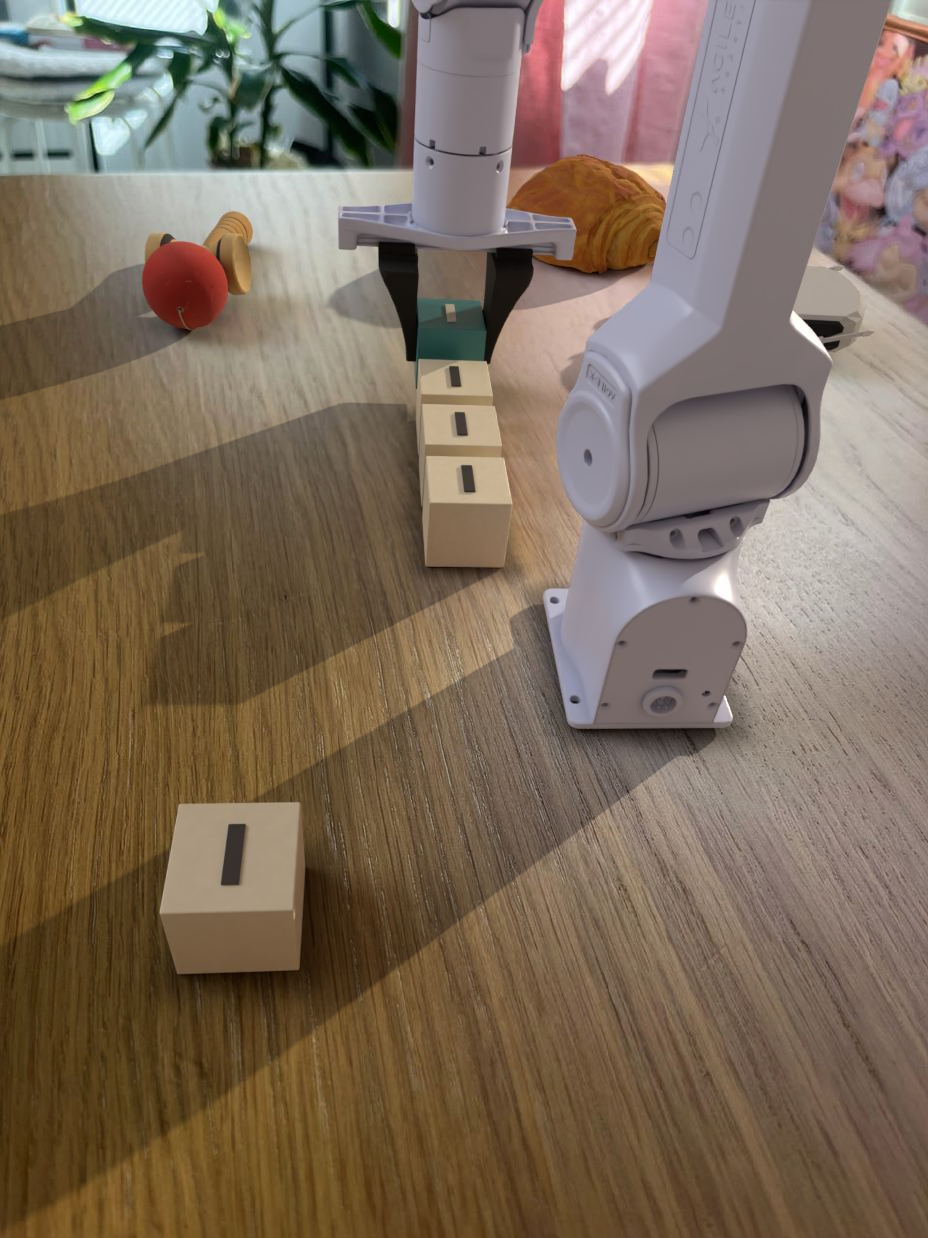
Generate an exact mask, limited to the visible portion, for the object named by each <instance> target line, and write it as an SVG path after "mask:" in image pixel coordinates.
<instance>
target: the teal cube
mask: <svg viewBox="0 0 928 1238" xmlns="http://www.w3.org/2000/svg"><path fill="white" fill-rule="evenodd" d="M416 330H417V351H416V362H413V367H414V368H413V370H414V371H413V372H414V373H413V374H414V385H415V387H414V388H415V389H416V390H417V382H418V361H419V359H434V360H463V361H484V352H485V342H486V326H485V320H484V315H483V305H482V301H481V300H474V299H473V300H472V299H453V298H452V299H451V298H450V299H449V298H428V297H427V298H426V297H417V312H416Z"/></svg>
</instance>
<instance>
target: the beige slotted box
mask: <svg viewBox="0 0 928 1238" xmlns="http://www.w3.org/2000/svg"><path fill="white" fill-rule="evenodd" d="M303 828H304V827H303V816H302V804H301V801H300V802H299V801H288V802H286V801H284V802H283V801H282V802H280V801H279V802H278V801H277V802H219V803H217V802H215V803H214V802H212V803H179V804H178V807H177V814H176V819H175V826H174V829H173V835H172V840H171V846H170V851H169V852H170V853H169V857H168V864H167V867H166V874H165V879H164V886H163V892H162V897H161V902H160V906H159V907H160V908H159V916H160V919H161V923H162V926H163V930H164V933H165V937H166V941H167V944H168V947H169V951H170V954H171V957H172V960H173V965H174V967H175V970H176V974H177V975H191V974H192V975H193V974H194V975H195V974H221V973H222V974H224V973H226V974H227V973H253V972H254V973H255V972H256V973H257V972H283V971H284V972H286V971H287V972H288V971H299V970H300V964H301V947H302V931H303V930H302V929H303V914H304V913H303V912H304V897H305V881H306V880H305V877H306V856H305V855H306V854H305V841H304V830H303Z"/></svg>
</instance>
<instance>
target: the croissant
mask: <svg viewBox="0 0 928 1238" xmlns="http://www.w3.org/2000/svg"><path fill="white" fill-rule="evenodd" d="M666 203H667V200H666V199H665V196H663V194H662V193H661V192H660V191H658V190H657V189H656V188H654V187H653V186H652V185H651V184H649V182H647V181H646V180H645V178H643V176H641V175H640V174H638V173H637V172H636V171H633V170H631V169H629V168H628V167H626V166H623V165H619V164H615V163H612V162H610V161H608V160H603V159H600V158H598V157H595V156H592V155H588V154H586V153H583V154H582V153H581V154H576V155H575V156H574V155H568V156H565V157H563V158H561V159H559V160H557V161H555V162H554V163H552V164H551V165H550V166H545V168H543V169H541V170H539V171H537V172H535V173H533V175H532V176H531V177H530V178H529V179H527V180H526V182H524V183H523V184H522V185H521V186H520V188H518V190H517V191H516V193H515V194H514V196H513V197H512V198H511V199H510V202H509V203H508V204H507V205H506V208H508V209H513V210H518V211H524V212H529V213H535V214H540V215H546V216H554V217H564V218H572V220H573V223H574V225H575V228H576V230H577V231H576V237H575V244H574V250H573V256H572V260H557V259H555V258H554V255H537V254H533V257H534V258H536V259H538V260H539V261H541V262H543V263H546V264H549V265H554V266H559V267H567V268H573V269H575V270H579V271H581V272H582V273H588V274H591V273H593V272H598V274H601V275H602V274H603V273H606V271H607V270H608V269H610V270H616V271H618V270H619V271H620V270H621V271H622V270H624V269H631V268H632V267H639V266H644V265H646V264H648V263H652V262H653V263H654V261H655V256H656V251H657V246H658V241H659V237H660V232H661V227H662V222H663V217H664V213H665V208H666Z"/></svg>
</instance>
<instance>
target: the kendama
mask: <svg viewBox="0 0 928 1238" xmlns="http://www.w3.org/2000/svg"><path fill="white" fill-rule="evenodd" d="M253 229H254V228H253V225H252V223H251V221H250V220H249V218H248V217H247V216H246V215H245V214H243V213H241V212H239V211H234V210H233V211H227V212H225V213H224V214H223V215H221V217H220V218H219V220H218V222H217V223H216V224H215V226H214V227H213V229H212V230H211V232H210V233H209V234H208V235H207V236H206V238H205V240H204V241H203V244H202V245H199V244H197V243H194V242H191V241H183V240H179V241H178V240H177V239H176V238H175V237H174V236H173V235H172V234H171V233H170V232H155V233H153V232H152V233H151V234H149V235H148V237H147V239H146V241H145V245H144V265H143V270H142V274H141V286H142V291H143V296H144V298H145V300H146V303H147V305H148V307H150V309H151V310H152V312H153V313H154V314H155V315H156V316H157V317H158V318H159V319H161V320H162V321H163V322H164V323H166V324H168V325H170V326H172V327H175V328H179V329H184V330H189V331H195V330H197V329H201V328H203V327H205V326H207V325H209V324H211V323H212V322H214V321H216V319H217V318H218V317H219V316H220V315H221V313H222V312H223V310H224V308H225V306H226V303H227V301H228V295H229V294H231V295H232V296H241V295H246V294H248V293H249V290H250V288H251V285H252V278H253V277H252V276H253V275H252V272H253V270H252V261H251V255H250V250H249V246H248V245H249V244H250V243H251V241H252V239H253V236H254V230H253Z"/></svg>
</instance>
